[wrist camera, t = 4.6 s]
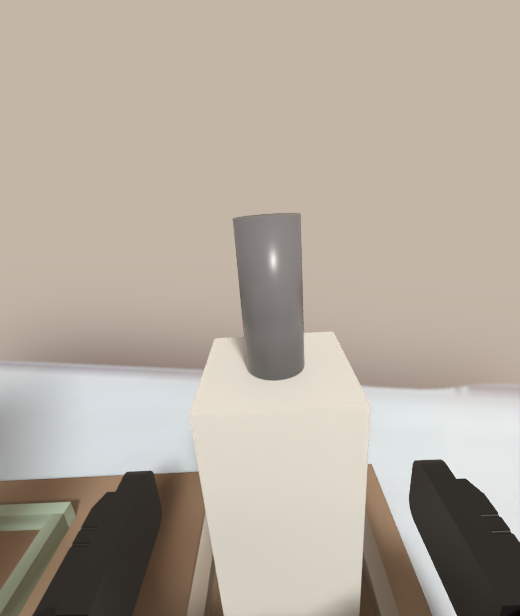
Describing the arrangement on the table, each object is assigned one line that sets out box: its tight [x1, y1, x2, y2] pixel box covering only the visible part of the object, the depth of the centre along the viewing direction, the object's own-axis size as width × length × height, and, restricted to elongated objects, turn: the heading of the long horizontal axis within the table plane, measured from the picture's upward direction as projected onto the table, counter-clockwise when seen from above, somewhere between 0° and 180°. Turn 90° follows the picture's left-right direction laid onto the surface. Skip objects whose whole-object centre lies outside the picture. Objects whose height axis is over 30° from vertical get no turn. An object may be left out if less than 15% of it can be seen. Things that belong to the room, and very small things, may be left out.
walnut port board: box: [0, 464, 432, 616], centre depth 12 cm, size 24×12×2 cm, turn 89°
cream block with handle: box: [189, 213, 371, 616], centre depth 10 cm, size 4×5×14 cm
